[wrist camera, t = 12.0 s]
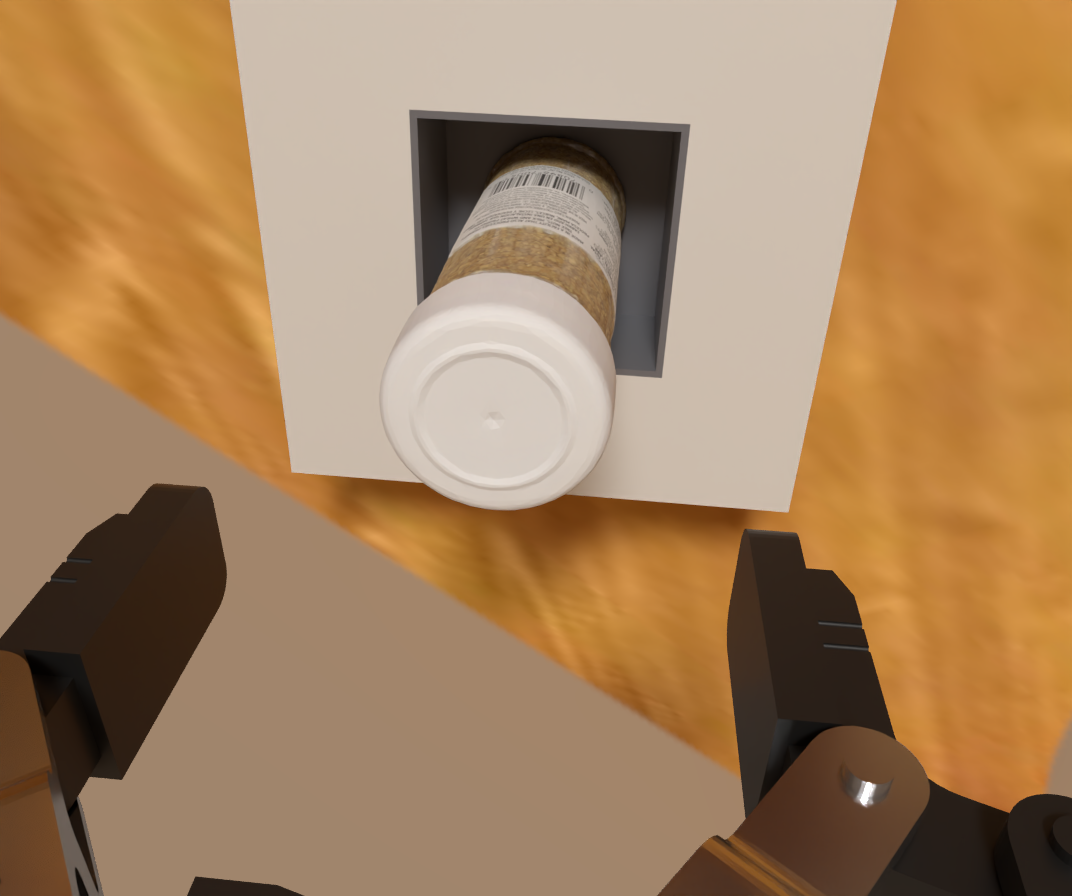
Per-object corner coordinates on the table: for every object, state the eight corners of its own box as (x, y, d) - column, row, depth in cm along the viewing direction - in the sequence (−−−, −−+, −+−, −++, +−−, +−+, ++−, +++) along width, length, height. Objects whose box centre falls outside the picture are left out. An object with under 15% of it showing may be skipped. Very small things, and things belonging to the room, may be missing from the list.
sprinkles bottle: (467, 251, 30) (353, 479, 19) (505, 110, 28) (400, 275, 16) (602, 294, 30) (569, 547, 19) (651, 159, 28) (648, 356, 16)
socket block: (286, -100, 26) (217, -95, 22) (866, -79, 25) (911, -69, 21) (335, 399, 35) (291, 472, 30) (770, 431, 33) (788, 512, 29)
